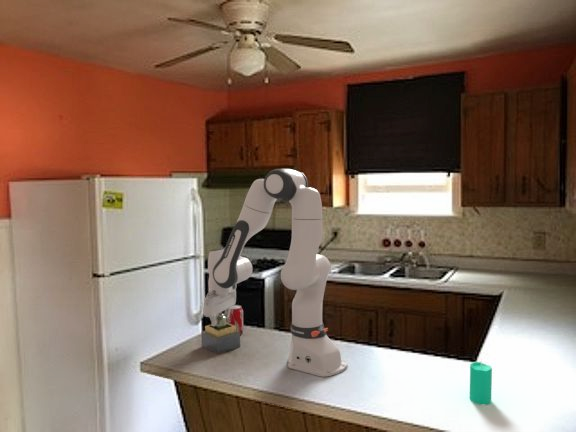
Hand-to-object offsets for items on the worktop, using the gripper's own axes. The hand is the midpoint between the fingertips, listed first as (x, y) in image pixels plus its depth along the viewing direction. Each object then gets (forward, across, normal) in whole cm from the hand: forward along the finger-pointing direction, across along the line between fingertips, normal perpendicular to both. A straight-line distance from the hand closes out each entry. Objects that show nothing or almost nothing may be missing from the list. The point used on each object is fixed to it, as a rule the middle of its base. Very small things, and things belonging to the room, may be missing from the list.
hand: (220, 322), depth 188 cm
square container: (+10, 0, 0) cm, 10 cm away
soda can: (+10, +16, +2) cm, 20 cm away
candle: (+11, -13, -96) cm, 98 cm away
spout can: (+4, 0, 0) cm, 4 cm away
